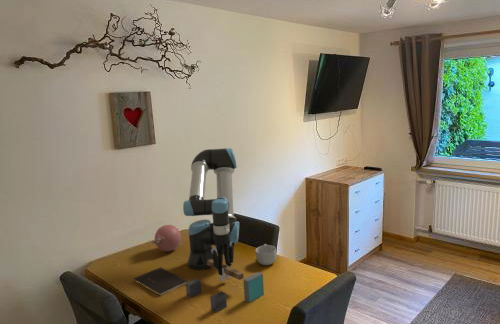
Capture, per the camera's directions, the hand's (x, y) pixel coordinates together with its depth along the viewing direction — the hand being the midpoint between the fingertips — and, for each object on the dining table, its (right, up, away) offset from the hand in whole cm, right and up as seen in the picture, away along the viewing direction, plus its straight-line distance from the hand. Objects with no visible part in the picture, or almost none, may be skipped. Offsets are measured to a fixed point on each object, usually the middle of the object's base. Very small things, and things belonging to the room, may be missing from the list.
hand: (224, 279), depth 183 cm
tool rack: (-7, -5, -15) cm, 17 cm away
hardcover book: (-32, -4, +5) cm, 32 cm away
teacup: (+21, +3, +21) cm, 30 cm away
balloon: (-37, +3, +42) cm, 56 cm away
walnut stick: (0, +4, -1) cm, 4 cm away
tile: (+14, -4, -14) cm, 20 cm away
